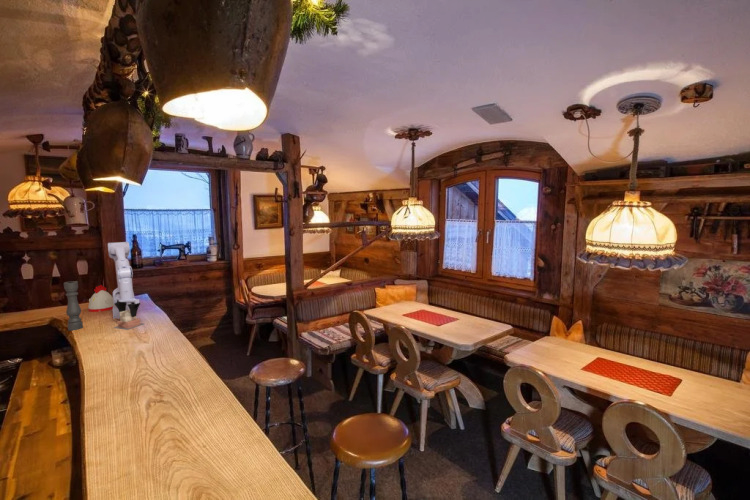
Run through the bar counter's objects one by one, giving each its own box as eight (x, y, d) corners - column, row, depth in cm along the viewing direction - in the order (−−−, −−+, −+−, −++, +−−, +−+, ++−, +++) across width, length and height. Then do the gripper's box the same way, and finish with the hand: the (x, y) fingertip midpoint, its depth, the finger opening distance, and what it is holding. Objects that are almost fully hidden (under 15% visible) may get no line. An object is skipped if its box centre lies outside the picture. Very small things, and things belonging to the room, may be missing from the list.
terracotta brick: (118, 327, 194) (117, 321, 194) (130, 323, 201) (130, 317, 200) (128, 328, 192) (127, 322, 192) (140, 324, 199) (139, 318, 198)
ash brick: (120, 321, 194) (119, 312, 193) (131, 318, 199) (130, 309, 199) (126, 322, 193) (125, 313, 192) (136, 319, 198) (136, 309, 198)
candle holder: (84, 328, 197) (79, 282, 194) (69, 331, 192) (64, 284, 189) (81, 326, 201) (77, 280, 198) (67, 328, 196) (62, 282, 193)
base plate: (113, 330, 193) (113, 327, 193) (131, 324, 203) (131, 322, 203) (127, 332, 190) (127, 329, 190) (145, 326, 200) (145, 323, 200)
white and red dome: (82, 311, 229) (80, 287, 227) (101, 305, 242) (99, 282, 240) (102, 312, 227) (100, 288, 225) (121, 306, 240) (119, 283, 239)
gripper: (108, 291, 193) (110, 316, 194) (129, 293, 188) (131, 319, 190) (121, 288, 199) (123, 313, 201) (142, 290, 195) (144, 315, 196)
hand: (128, 315), depth 196 cm, fingers open, 7 cm apart
